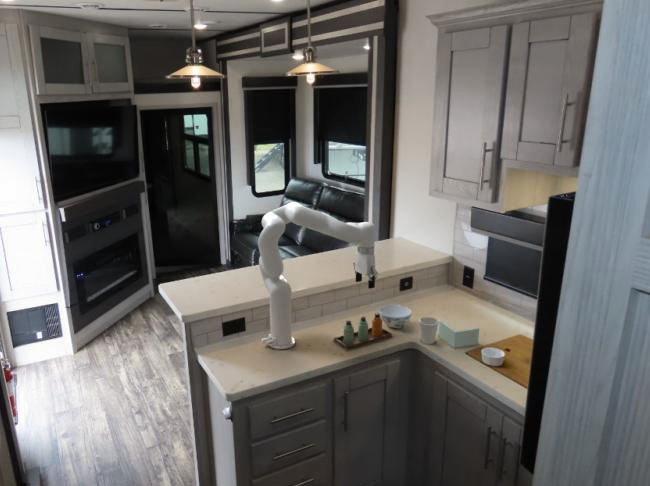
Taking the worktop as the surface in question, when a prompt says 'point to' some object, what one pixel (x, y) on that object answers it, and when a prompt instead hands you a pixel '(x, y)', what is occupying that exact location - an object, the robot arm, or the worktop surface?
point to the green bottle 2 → (363, 329)
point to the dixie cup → (428, 329)
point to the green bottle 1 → (348, 333)
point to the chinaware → (395, 315)
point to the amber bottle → (377, 325)
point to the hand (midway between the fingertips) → (364, 284)
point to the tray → (359, 343)
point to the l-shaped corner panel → (458, 336)
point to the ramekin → (492, 356)
